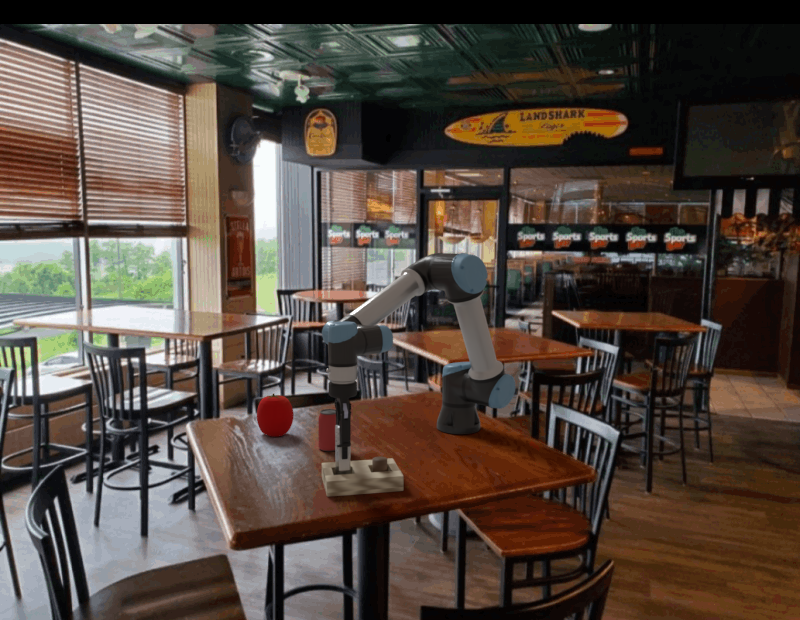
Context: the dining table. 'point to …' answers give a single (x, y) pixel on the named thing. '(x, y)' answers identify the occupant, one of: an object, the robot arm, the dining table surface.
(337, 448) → the steel pin
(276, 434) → the tomato
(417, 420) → the dining table surface
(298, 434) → the dining table surface
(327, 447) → the beer can
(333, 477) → the socket block
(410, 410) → the dining table surface
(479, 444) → the dining table surface
